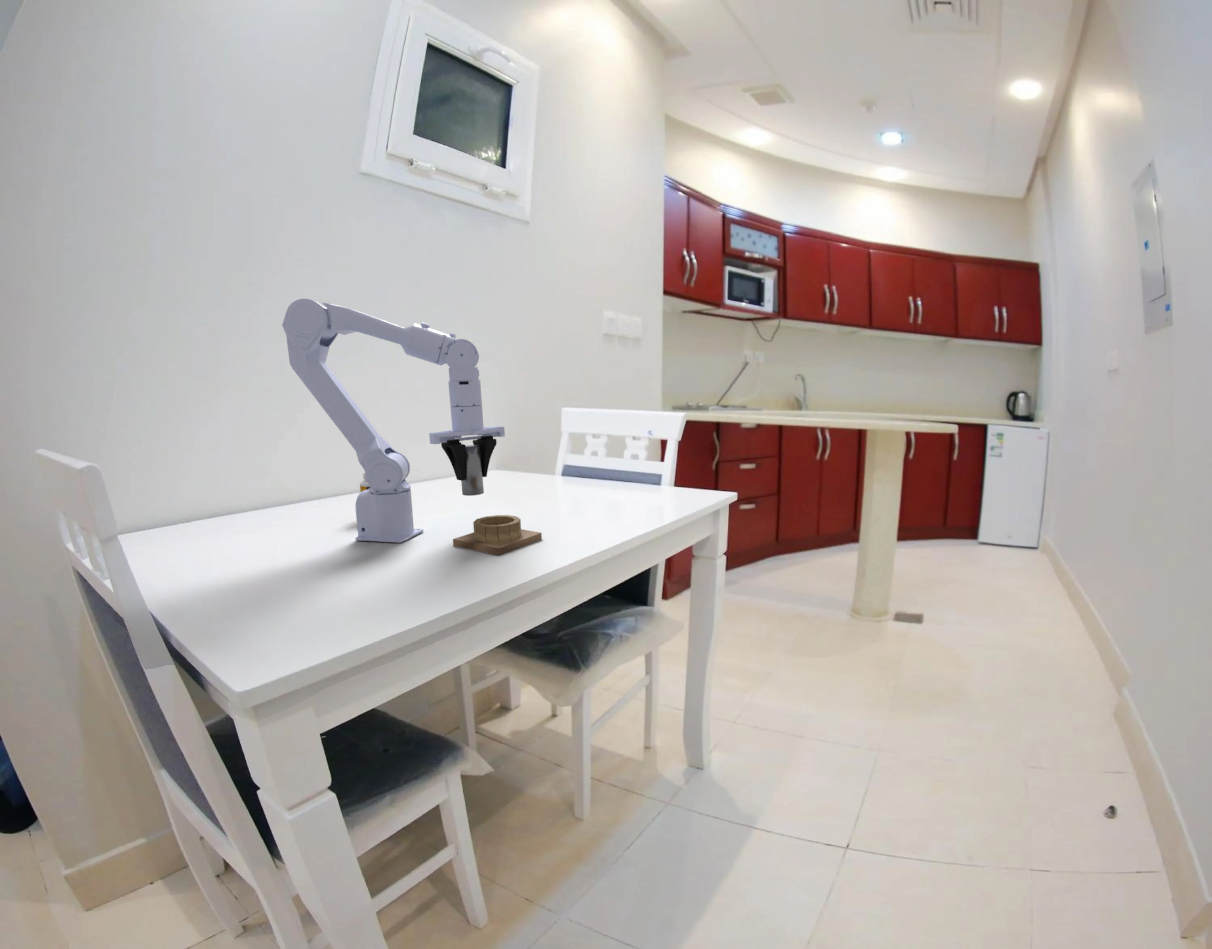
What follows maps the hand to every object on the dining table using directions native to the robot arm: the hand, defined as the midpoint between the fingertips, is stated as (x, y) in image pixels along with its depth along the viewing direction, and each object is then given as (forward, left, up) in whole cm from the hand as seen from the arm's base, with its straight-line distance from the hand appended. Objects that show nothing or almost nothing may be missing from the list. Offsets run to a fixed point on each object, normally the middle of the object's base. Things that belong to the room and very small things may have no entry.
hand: (471, 478), depth 106 cm
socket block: (+7, -6, -10) cm, 14 cm away
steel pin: (0, 0, -3) cm, 3 cm away
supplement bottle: (-26, +6, -11) cm, 28 cm away
